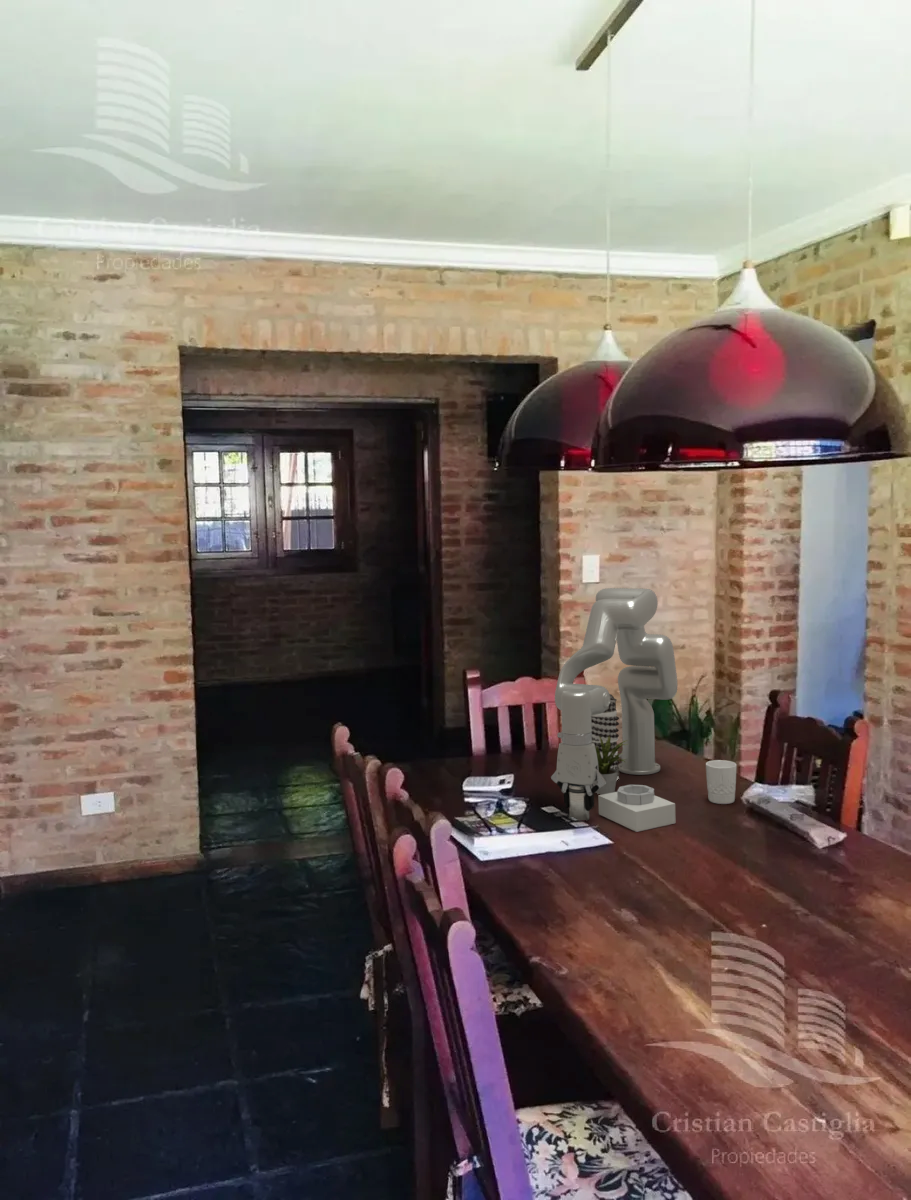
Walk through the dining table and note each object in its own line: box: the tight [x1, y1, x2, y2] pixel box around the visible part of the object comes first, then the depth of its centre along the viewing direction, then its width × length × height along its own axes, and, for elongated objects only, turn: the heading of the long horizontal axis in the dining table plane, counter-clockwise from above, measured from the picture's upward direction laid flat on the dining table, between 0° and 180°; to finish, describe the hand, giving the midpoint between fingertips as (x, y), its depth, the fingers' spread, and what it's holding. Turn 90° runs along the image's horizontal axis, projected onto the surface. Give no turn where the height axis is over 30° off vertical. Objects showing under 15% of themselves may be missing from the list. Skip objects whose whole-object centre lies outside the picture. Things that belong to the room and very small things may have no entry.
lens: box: [568, 784, 590, 821], centre depth 237 cm, size 5×5×9 cm
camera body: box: [597, 784, 677, 832], centre depth 235 cm, size 16×12×8 cm
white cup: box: [705, 759, 737, 805], centre depth 247 cm, size 8×8×10 cm
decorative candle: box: [591, 693, 620, 782], centre depth 271 cm, size 9×9×25 cm
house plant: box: [594, 736, 629, 795], centre depth 256 cm, size 14×14×16 cm
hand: (579, 807), depth 237 cm, fingers closed on lens, 5 cm apart
